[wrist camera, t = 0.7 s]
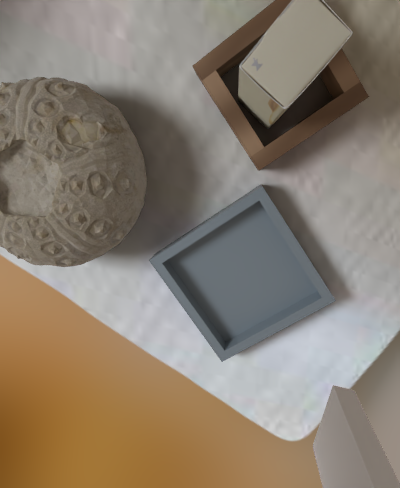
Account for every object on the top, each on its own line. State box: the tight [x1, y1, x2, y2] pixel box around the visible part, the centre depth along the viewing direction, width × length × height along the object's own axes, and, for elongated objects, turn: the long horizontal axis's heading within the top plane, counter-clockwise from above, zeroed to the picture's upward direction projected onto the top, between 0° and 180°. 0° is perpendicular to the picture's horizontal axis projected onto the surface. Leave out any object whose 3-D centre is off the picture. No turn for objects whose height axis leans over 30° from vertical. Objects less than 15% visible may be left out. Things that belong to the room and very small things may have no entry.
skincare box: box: [238, 0, 353, 129], centre depth 28 cm, size 6×4×12 cm
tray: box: [149, 185, 336, 362], centre depth 37 cm, size 14×14×2 cm
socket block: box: [193, 0, 369, 170], centre depth 32 cm, size 11×11×4 cm
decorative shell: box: [0, 77, 147, 267], centre depth 33 cm, size 18×18×10 cm
